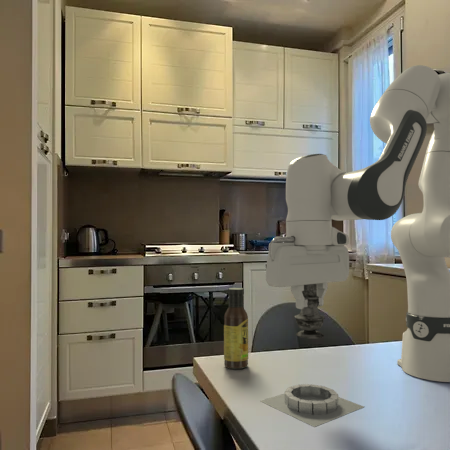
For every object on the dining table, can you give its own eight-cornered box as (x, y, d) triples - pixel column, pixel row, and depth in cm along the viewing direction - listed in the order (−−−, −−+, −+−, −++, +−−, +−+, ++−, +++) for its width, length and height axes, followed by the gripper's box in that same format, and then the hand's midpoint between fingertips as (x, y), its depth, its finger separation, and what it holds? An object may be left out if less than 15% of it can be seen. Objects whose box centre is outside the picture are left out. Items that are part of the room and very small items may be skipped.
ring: (309, 390, 85) (309, 381, 86) (348, 405, 77) (348, 395, 78) (274, 401, 80) (274, 391, 80) (313, 419, 72) (313, 408, 72)
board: (309, 388, 88) (309, 385, 88) (364, 409, 77) (364, 406, 77) (260, 404, 80) (260, 400, 80) (314, 430, 69) (314, 426, 69)
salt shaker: (325, 339, 76) (324, 274, 76) (293, 338, 77) (292, 274, 78) (325, 332, 82) (324, 272, 82) (295, 331, 83) (294, 272, 83)
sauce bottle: (247, 370, 101) (247, 290, 102) (222, 370, 101) (222, 289, 102) (249, 363, 107) (248, 287, 108) (225, 362, 108) (224, 287, 109)
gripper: (281, 236, 71) (282, 315, 71) (354, 236, 83) (355, 304, 83) (258, 236, 76) (258, 310, 76) (329, 236, 88) (330, 300, 88)
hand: (309, 307), depth 79 cm, fingers closed on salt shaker, 3 cm apart
